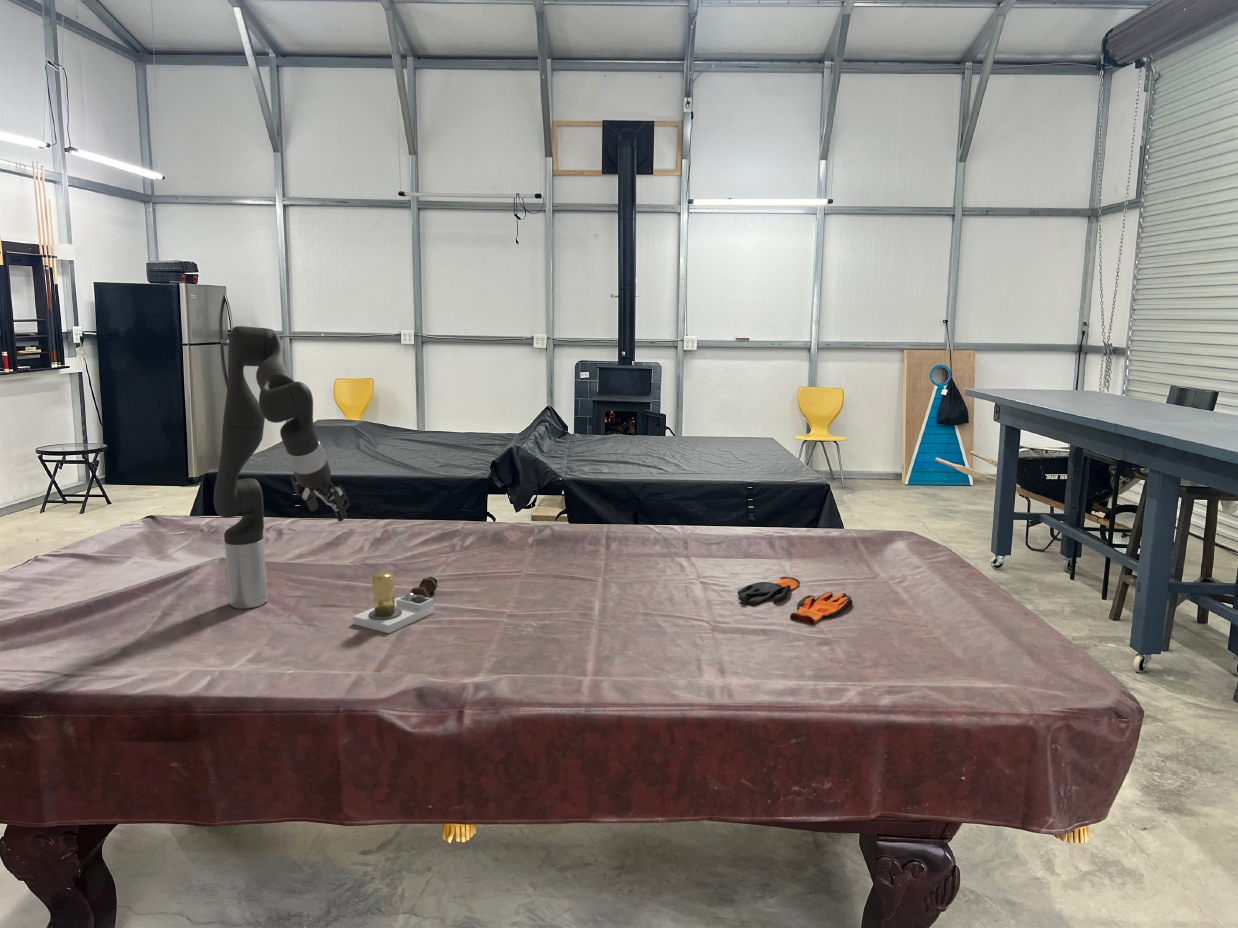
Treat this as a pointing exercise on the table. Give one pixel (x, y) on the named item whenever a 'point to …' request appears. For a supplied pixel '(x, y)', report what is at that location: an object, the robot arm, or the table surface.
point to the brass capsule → (383, 594)
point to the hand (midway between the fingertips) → (328, 514)
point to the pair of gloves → (806, 607)
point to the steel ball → (409, 597)
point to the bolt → (425, 587)
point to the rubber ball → (419, 599)
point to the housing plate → (395, 615)
